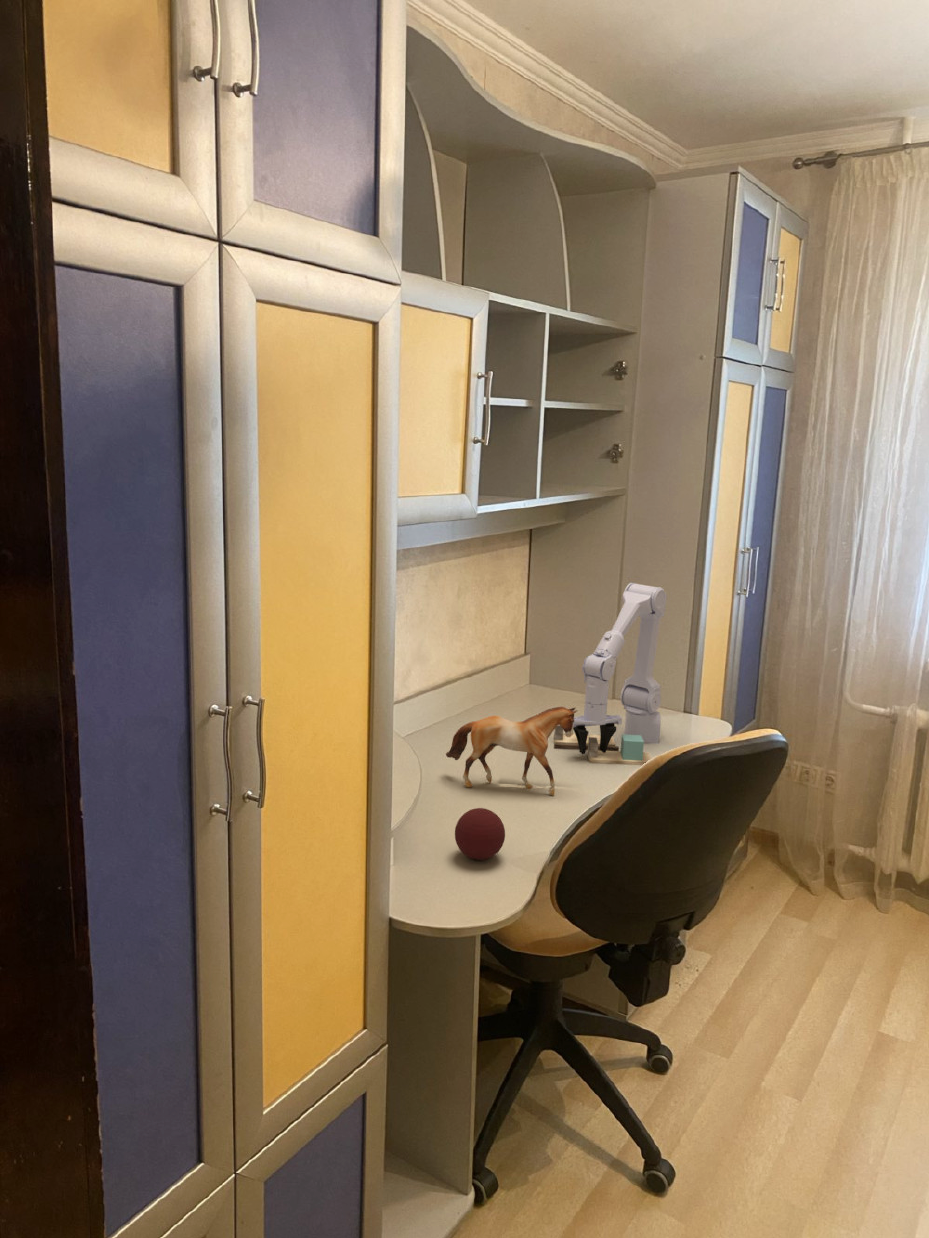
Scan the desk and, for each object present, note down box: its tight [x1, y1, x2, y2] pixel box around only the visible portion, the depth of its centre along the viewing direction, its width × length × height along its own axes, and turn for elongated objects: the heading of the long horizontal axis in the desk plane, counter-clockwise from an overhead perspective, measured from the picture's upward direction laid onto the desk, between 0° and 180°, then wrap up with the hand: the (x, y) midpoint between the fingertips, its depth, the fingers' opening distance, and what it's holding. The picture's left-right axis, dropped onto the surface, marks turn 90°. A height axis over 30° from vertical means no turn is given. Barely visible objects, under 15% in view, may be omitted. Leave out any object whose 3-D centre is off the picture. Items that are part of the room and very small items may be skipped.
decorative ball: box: [454, 807, 506, 861], centre depth 182 cm, size 10×10×10 cm
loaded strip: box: [586, 737, 652, 766], centre depth 236 cm, size 16×7×5 cm, turn 88°
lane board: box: [553, 742, 620, 751], centre depth 243 cm, size 17×22×2 cm
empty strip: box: [553, 725, 616, 746], centre depth 248 cm, size 16×7×5 cm, turn 88°
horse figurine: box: [445, 706, 578, 796], centre depth 216 cm, size 31×8×21 cm, turn 78°
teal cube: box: [619, 733, 645, 760], centre depth 236 cm, size 5×5×5 cm
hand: (592, 752), depth 237 cm, fingers open, 5 cm apart
